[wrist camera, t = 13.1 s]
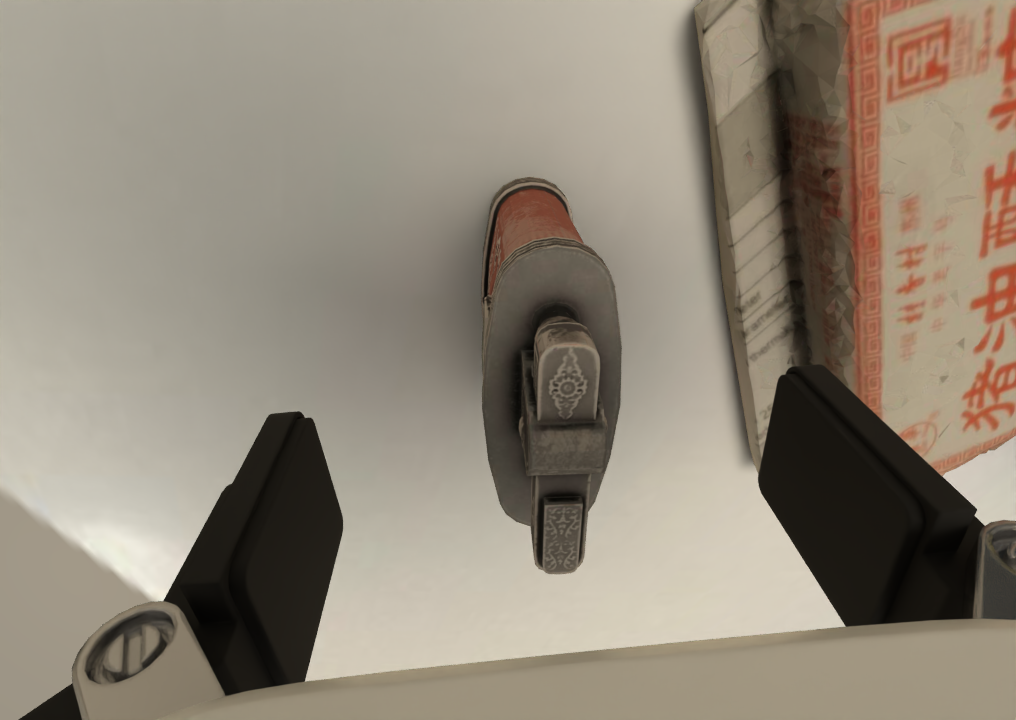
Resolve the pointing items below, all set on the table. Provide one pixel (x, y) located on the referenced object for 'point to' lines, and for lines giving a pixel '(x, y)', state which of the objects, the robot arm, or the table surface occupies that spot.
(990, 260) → the packaged product
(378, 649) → the table surface
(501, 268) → the lighter
